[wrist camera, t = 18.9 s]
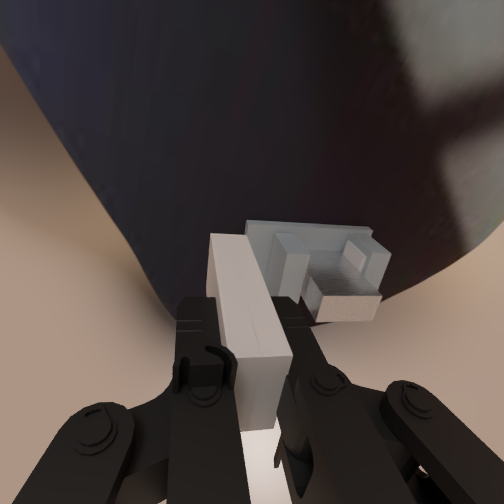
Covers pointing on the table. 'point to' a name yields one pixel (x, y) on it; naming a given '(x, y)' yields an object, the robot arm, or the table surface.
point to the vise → (322, 244)
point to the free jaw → (286, 266)
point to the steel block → (337, 289)
